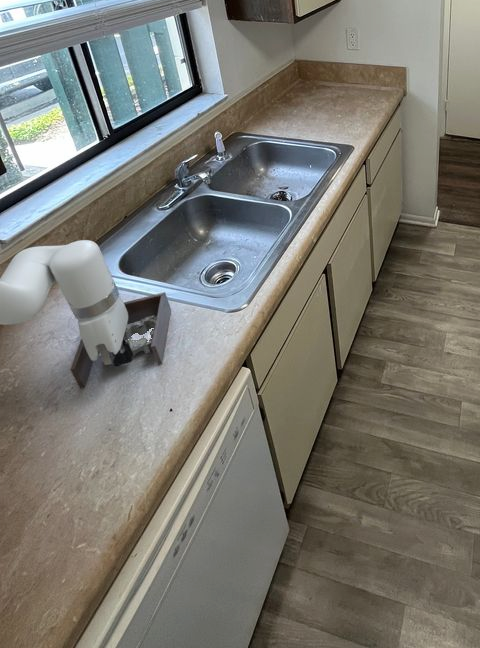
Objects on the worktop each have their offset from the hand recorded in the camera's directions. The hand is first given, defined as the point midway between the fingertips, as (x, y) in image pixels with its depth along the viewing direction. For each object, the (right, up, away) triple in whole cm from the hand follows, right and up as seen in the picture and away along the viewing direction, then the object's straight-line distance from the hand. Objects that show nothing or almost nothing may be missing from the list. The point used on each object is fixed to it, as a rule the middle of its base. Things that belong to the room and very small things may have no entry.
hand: (124, 360), depth 92 cm
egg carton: (-2, 0, +6) cm, 6 cm away
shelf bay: (-2, 0, +5) cm, 6 cm away
